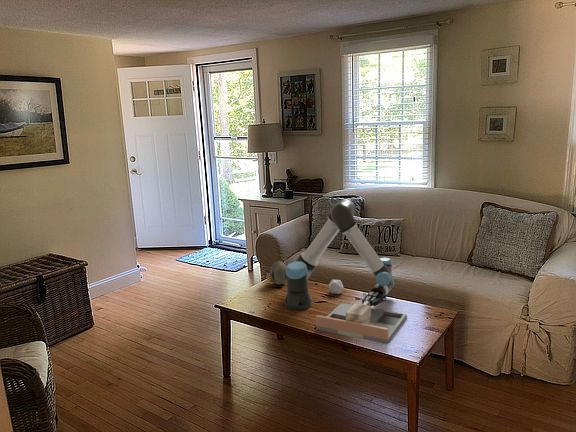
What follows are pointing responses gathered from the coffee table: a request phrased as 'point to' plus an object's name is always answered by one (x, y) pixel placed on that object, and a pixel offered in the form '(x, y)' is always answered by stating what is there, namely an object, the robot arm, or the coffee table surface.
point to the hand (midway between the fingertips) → (363, 308)
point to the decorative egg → (278, 273)
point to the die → (335, 286)
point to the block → (359, 313)
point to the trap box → (376, 330)
